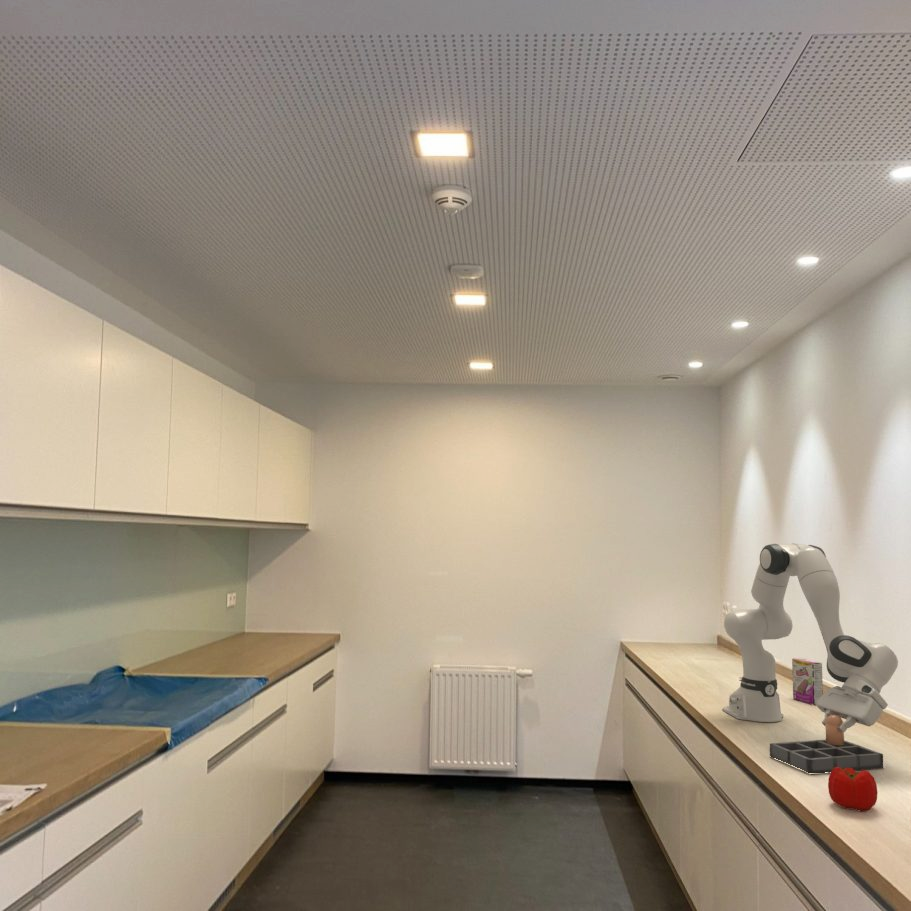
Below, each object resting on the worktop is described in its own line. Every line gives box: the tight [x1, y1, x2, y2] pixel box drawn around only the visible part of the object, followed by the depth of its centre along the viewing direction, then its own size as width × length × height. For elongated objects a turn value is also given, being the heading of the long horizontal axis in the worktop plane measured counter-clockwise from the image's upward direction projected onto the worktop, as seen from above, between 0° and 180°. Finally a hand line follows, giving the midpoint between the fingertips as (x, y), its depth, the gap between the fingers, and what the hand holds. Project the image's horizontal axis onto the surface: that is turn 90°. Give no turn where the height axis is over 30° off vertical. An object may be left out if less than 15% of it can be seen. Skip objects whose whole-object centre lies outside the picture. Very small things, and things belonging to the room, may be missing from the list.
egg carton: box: [769, 739, 884, 774], centre depth 233 cm, size 17×25×4 cm
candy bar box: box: [791, 657, 824, 706], centre depth 315 cm, size 11×5×16 cm, turn 22°
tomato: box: [827, 767, 879, 812], centre depth 196 cm, size 11×12×9 cm
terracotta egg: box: [824, 715, 845, 745], centre depth 230 cm, size 5×5×8 cm
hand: (832, 727), depth 229 cm, fingers closed on terracotta egg, 5 cm apart
